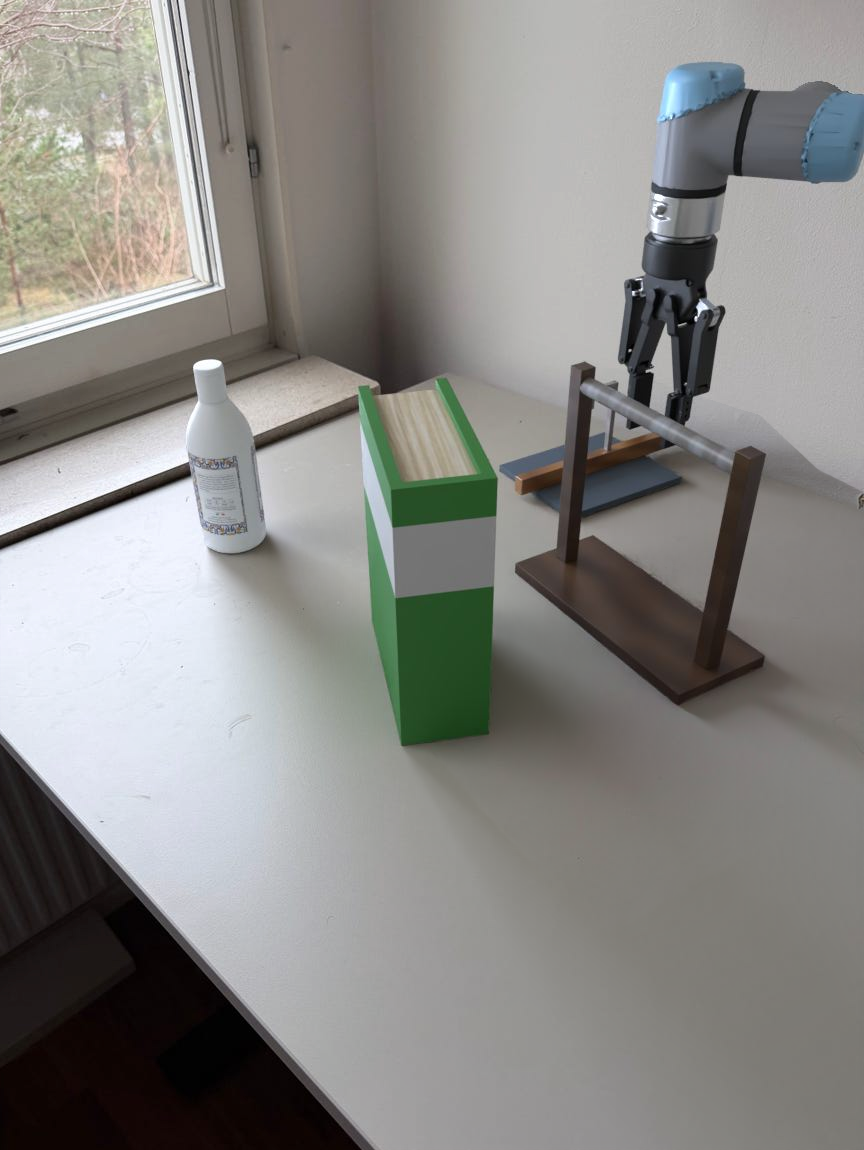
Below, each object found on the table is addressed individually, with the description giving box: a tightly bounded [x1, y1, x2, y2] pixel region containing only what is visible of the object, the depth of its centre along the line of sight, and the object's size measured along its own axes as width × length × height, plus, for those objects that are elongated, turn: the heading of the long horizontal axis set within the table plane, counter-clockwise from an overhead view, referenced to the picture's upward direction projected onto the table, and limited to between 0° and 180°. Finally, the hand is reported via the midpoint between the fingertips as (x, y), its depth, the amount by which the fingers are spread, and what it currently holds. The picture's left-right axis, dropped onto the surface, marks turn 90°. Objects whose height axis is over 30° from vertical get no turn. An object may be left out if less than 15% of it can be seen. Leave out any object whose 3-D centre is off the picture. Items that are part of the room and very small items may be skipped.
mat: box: [498, 431, 683, 518], centre depth 115 cm, size 16×14×1 cm
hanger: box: [514, 380, 665, 496], centre depth 111 cm, size 22×1×10 cm, turn 119°
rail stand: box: [514, 361, 767, 706], centre depth 86 cm, size 10×24×22 cm, turn 29°
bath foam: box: [185, 359, 267, 554], centre depth 101 cm, size 7×7×20 cm
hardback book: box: [357, 377, 499, 746], centre depth 80 cm, size 18×7×24 cm, turn 9°
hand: (653, 434), depth 117 cm, fingers open, 5 cm apart
